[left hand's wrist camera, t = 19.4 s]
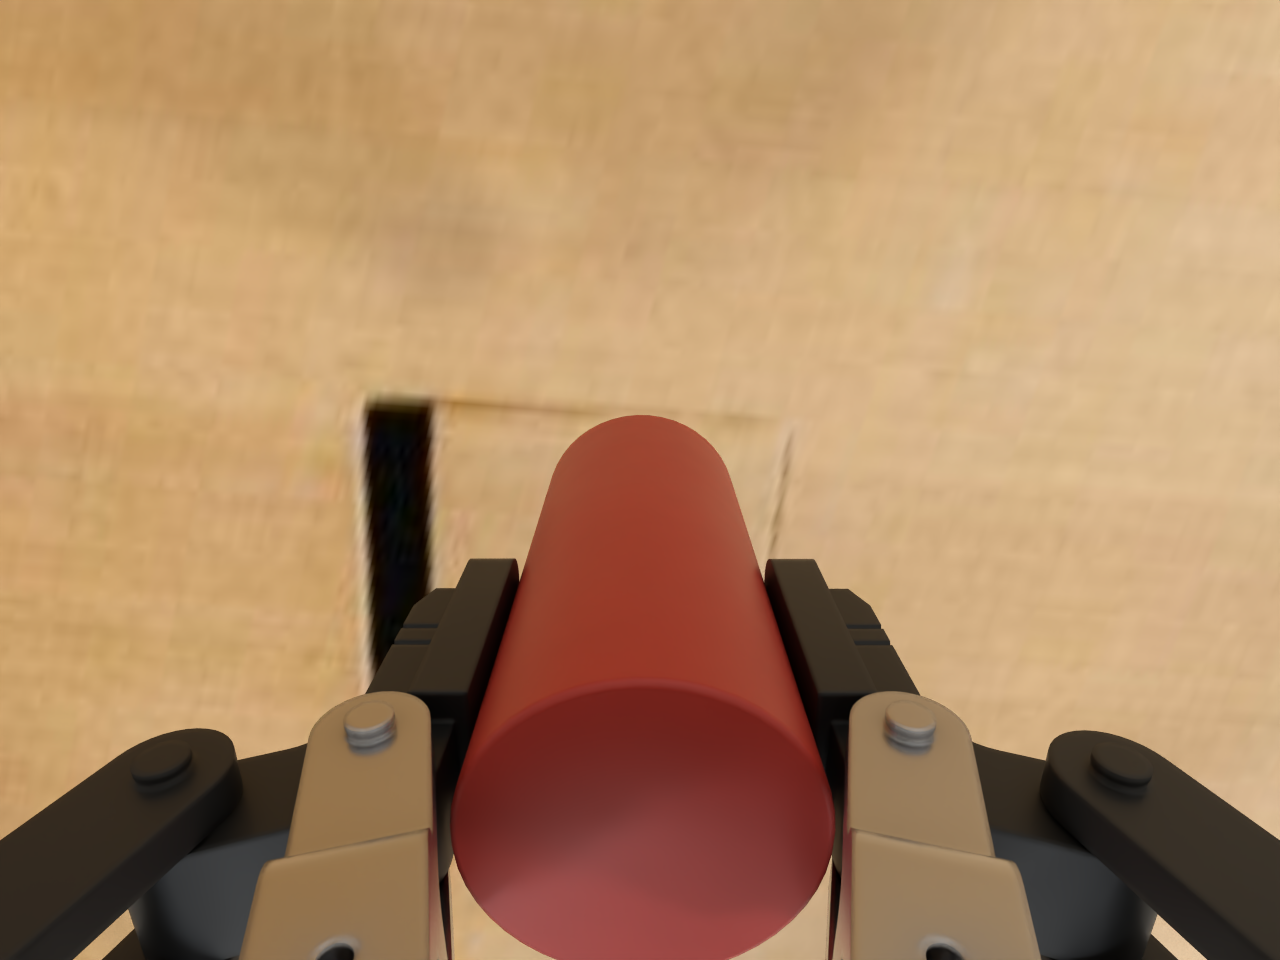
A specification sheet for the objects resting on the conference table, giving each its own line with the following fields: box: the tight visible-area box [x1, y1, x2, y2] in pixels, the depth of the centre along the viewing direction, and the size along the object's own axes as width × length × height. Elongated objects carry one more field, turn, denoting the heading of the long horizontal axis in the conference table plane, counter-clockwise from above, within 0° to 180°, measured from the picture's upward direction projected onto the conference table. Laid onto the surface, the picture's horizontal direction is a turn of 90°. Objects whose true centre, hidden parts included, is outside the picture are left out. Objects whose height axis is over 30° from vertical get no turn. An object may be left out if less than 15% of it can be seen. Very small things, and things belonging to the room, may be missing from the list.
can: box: [450, 415, 836, 960], centre depth 12 cm, size 4×4×9 cm
